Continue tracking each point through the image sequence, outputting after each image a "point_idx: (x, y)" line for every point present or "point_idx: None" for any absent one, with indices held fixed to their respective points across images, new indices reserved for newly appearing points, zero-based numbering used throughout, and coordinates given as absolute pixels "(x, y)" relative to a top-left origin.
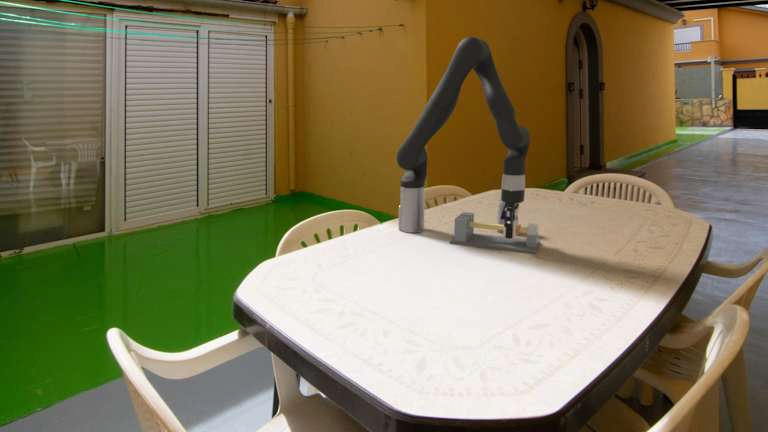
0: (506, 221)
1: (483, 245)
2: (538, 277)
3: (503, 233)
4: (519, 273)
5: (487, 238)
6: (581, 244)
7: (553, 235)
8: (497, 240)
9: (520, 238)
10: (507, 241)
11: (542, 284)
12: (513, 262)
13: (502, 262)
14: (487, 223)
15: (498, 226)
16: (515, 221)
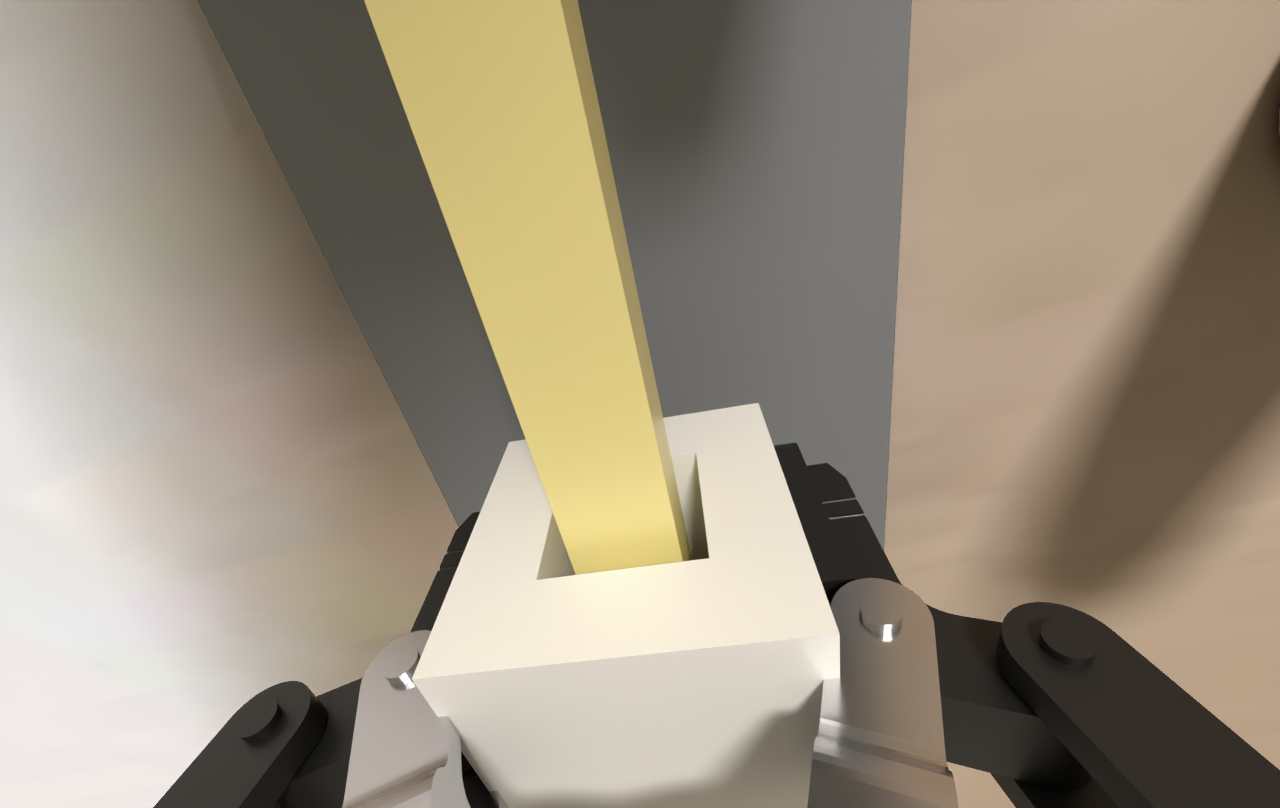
0: (350, 799)
1: (282, 156)
2: (128, 743)
3: (493, 483)
4: (58, 669)
5: (649, 43)
6: (959, 785)
7: (1209, 632)
8: (637, 261)
9: (886, 479)
10: (671, 397)
11: (65, 770)
12: (201, 589)
13: (106, 529)
14: (532, 8)
15: (533, 423)
16: (703, 793)
